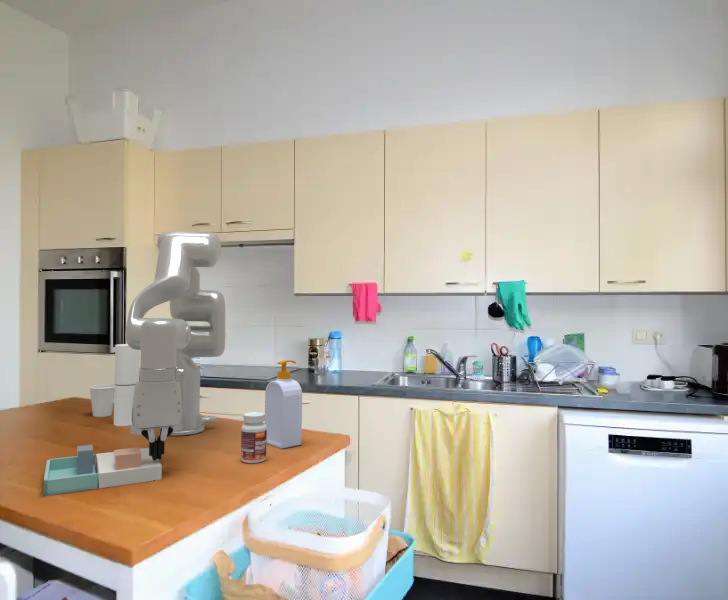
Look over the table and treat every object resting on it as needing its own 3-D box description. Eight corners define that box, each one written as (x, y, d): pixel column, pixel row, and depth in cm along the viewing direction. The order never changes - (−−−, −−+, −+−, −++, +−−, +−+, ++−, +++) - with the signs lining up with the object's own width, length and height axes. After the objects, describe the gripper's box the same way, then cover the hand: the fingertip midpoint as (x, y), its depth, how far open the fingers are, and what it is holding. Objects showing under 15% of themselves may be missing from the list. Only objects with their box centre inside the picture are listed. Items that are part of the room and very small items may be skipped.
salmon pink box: (138, 460, 114) (138, 447, 114) (141, 466, 110) (141, 452, 110) (113, 463, 112) (113, 449, 112) (115, 470, 108) (115, 455, 108)
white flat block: (151, 460, 125) (151, 447, 125) (161, 479, 111) (161, 465, 111) (96, 466, 119) (96, 453, 119) (99, 488, 105) (99, 473, 105)
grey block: (92, 444, 118) (77, 446, 116) (93, 449, 113) (77, 451, 112) (91, 466, 117) (76, 468, 116) (92, 472, 113) (77, 474, 112)
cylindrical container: (122, 427, 158) (124, 345, 159) (108, 424, 162) (110, 344, 163) (143, 423, 164) (144, 344, 165) (129, 420, 168) (131, 343, 169)
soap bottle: (303, 444, 141) (305, 361, 141) (282, 449, 136) (284, 362, 137) (284, 438, 147) (286, 358, 148) (264, 442, 143) (265, 360, 143)
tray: (94, 467, 119) (94, 454, 119) (97, 488, 105) (97, 473, 105) (46, 472, 114) (47, 459, 114) (43, 496, 100) (43, 480, 101)
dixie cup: (108, 418, 171) (108, 387, 171) (83, 417, 171) (84, 387, 171) (120, 413, 179) (121, 384, 179) (96, 412, 179) (97, 383, 179)
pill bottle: (258, 465, 122) (259, 417, 123) (235, 462, 124) (236, 415, 124) (270, 457, 128) (271, 412, 128) (248, 455, 130) (249, 410, 130)
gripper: (189, 372, 121) (188, 450, 121) (119, 375, 114) (117, 458, 113) (196, 375, 115) (194, 458, 114) (122, 379, 107) (120, 468, 107)
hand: (156, 458), depth 114 cm, fingers closed
